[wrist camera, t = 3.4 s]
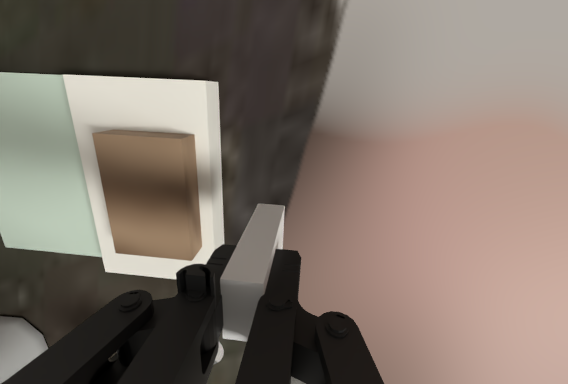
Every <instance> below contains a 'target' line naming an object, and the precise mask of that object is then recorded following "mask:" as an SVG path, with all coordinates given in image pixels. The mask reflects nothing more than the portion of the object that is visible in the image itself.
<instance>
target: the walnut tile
mask: <svg viewBox="0 0 568 384" xmlns="http://www.w3.org/2000/svg"><path fill="white" fill-rule="evenodd" d="M92 136H93V141H94V146H95V152H96V157H97V162H98V167H99V172H100V177H101V182H102V187H103V192H104V197H105V202H106V207H107V212H108V218H109V223H110V228H111V233H112V238H113V243H114V248H115V253H118V254H128V255H138V256H148V257H157V258H167V259H177V260H187V261H192V260H193V259H194V257H195V256H196V255H197V253H198V252H199V251H200V249H201V248H202V236H201V221H200V207H199V192H198V178H197V163H196V149H195V134H180V133H164V132H147V131H131V130H115V129H113V130H107V131H102V132H96V133H92Z"/></svg>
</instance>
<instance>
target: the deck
mask: <svg viewBox="0 0 568 384" xmlns="http://www.w3.org/2000/svg"><path fill="white" fill-rule="evenodd" d="M63 79H64V83H65V88H66V92H67V97H68V102H69V106H70V111H71V115H72V120H73V125H74V129H75V134H76V138H77V143H78V147H79V152H80V157H81V161H82V166H83V170H84V175H85V180H86V184H87V189H88V193H89V198H90V203H91V207H92V212H93V216H94V221H95V226H96V230H97V235H98V239H99V244H100V249H101V253H102V258H103V262H104V267H105V272H113V273H122V274H131V275H141V276H150V277H159V278H169V279H176V273H177V272H178V271H179V270H180V269H181V268H183V267H185V266H188V265H192V264H207V261H208V260H209V258H210V256H211V255H212V253H213V252H214V250H215V249H217V248H218V247H220V246H221V245H222V244H224V224H223V196H222V169H221V142H220V115H219V87H218V82H213V81H200V80H177V79H155V78H132V77H110V76H87V75H65V74H63ZM113 129H115V130H131V131H147V132H164V133H180V134H195V149H196V163H197V178H198V192H199V207H200V221H201V236H202V248H201V249H200V251H199V252H198V253H197V255H196V256H195V257H194V259H193V260H192V261H187V260H177V259H167V258H157V257H148V256H138V255H128V254H118V253H115V248H114V243H113V238H112V233H111V228H110V223H109V218H108V212H107V207H106V202H105V197H104V192H103V187H102V182H101V177H100V172H99V167H98V162H97V157H96V152H95V146H94V141H93V136H92V133H96V132H102V131H107V130H113Z"/></svg>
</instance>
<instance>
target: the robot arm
mask: <svg viewBox="0 0 568 384" xmlns="http://www.w3.org/2000/svg"><path fill="white" fill-rule="evenodd" d="M284 208H285V206H282V205H270V204H258V205H257V207H256V209H255V211H254V213H253V215H252V217H251V219H250V221H249V223H248V225H247V227H246V229H245V231H244V233H243V235H242V237H241V239H240V241H239V242H238V244H237V246H235V245H225V244H222V245H221V246H220V247H218V248H217V249H215V250H214V252H213V253H212V255H211V256H210V258H209V260H208V261H207V264H192V265H188V266H185V267H183V268H181V269H180V270H179V271H178V272H177V273H176V279H177V287H178V294H177V295H176V297H173V298H168V299H160V300H152V296H151V294H150V293H148V292H147V291H143V290H134V291H129V292H126V293H123V294H121V295H120V296H118V297H116V298H115V299H113V300H112V301H111V302H109V303H108V304H107V305H105V306H104V307H103V308H101V309H100V310H99V311H98V312H96V313H95V314H94V315H92V316H91V317H90V318H88V319H87V320H86V321H84V322H83V323H82V324H80V325H79V326H78V327H76V328H75V329H74V330H72V331H71V332H70V333H68V334H67V335H66V336H64V337H63V338H62V339H60V340H59V341H58V342H56V343H55V344H54V345H52V346H51V347H50V348H48V349H47V350H46V351H44V352H43V353H42V354H40V355H39V356H38V357H36V358H35V359H34V360H32V361H31V362H30V363H28V364H27V365H26V366H24V367H23V368H22V369H20V370H19V371H18V372H16V373H15V374H14V375H12V376H11V377H10V378H8V379H7V380H6V381H4V382H3V383H2V384H206V383H207V380H208V377H209V375H210V372H211V369H212V367H213V364H214V361H215V358H216V356H217V353H218V348H219V340H218V339H219V336H220V333H221V331H222V328H223V338H224V339H232V340H240V341H247V343H246V347H245V351H244V354H243V358H242V361H241V365H240V369H239V372H238V376H237V379H236V383H235V384H290V382H291V376H292V377H294V378H296V379H298V380H300V381H302V382H304V383H306V384H384V382H383V380H382V378H381V376H380V374H379V372H378V369H377V367H376V365H375V363H374V361H373V359H372V356H371V354H370V352H369V350H368V348H367V346H366V344H365V341H364V339H363V337H362V335H361V333H360V331H359V328H358V326H357V325H356V323H355V322H354V320H353V319H351V318H350V317H349V316H347V315H345V314H343V313H340V312H332V311H331V312H327V313H324V314H322V315H321V316H319V317H317V316H315V315H312V314H310V313H308V312H307V311H305V310H304V309H303V308H302V307H301V305H300V304H299V302H298V291H299V279H300V265H301V257H300V255H299V253H298V251H293V250H283V249H282V248H283V230H284ZM116 351H117V353H116V354H115V355H114V356H113V357H111V356H112V355H113V354H114V353H115V352H116ZM110 357H111V358H110ZM108 358H110V359H108Z"/></svg>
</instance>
